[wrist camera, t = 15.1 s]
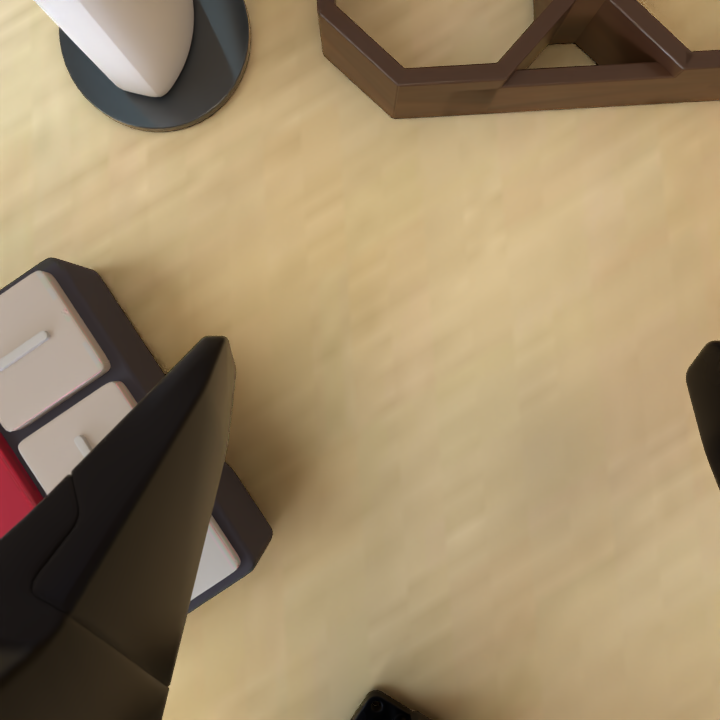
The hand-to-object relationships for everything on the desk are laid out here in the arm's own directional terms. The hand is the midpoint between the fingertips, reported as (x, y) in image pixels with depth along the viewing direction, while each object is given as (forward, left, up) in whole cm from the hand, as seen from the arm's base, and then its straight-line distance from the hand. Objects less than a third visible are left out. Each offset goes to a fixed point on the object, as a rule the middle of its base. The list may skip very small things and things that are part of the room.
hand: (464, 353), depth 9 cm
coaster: (+6, +17, -13) cm, 22 cm away
